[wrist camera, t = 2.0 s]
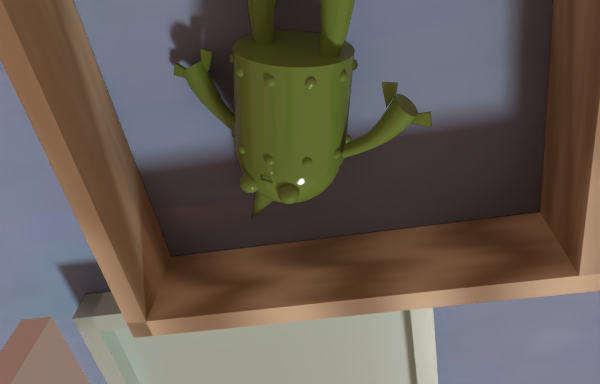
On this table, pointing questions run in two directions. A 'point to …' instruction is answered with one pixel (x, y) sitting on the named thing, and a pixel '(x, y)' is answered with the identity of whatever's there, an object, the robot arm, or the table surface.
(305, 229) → the table surface
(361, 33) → the table surface
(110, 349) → the tray
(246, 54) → the character figure
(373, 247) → the bin
